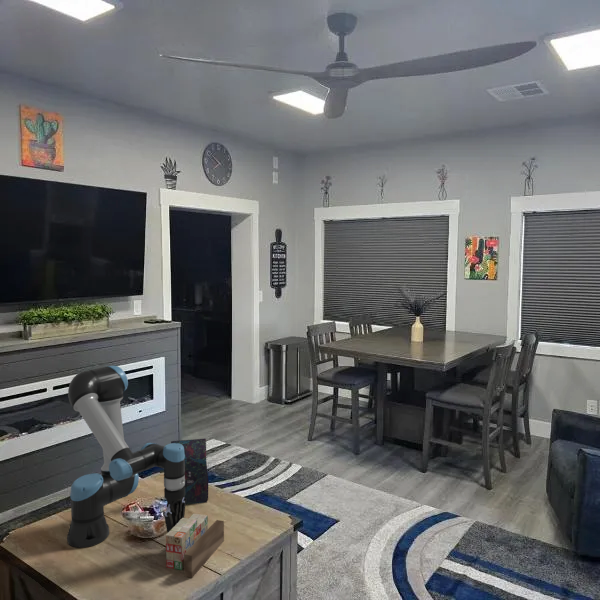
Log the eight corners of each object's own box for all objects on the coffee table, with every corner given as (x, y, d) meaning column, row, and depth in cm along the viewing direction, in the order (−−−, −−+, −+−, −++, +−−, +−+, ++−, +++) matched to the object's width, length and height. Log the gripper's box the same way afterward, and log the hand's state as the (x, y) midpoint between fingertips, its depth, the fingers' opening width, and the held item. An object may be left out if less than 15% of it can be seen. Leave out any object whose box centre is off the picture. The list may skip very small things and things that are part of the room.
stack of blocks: (193, 535, 200) (193, 505, 199) (208, 538, 199) (208, 507, 198) (166, 567, 180) (165, 534, 179) (182, 570, 178) (181, 537, 177)
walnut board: (184, 576, 175) (184, 554, 174) (217, 539, 198) (216, 519, 197) (192, 578, 174) (191, 555, 173) (224, 540, 197) (223, 521, 196)
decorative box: (171, 498, 231) (169, 438, 229) (207, 494, 235) (206, 435, 233) (170, 506, 223) (169, 444, 221) (208, 502, 227) (208, 441, 225)
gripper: (173, 495, 180) (175, 559, 182) (192, 480, 192) (193, 540, 194) (155, 492, 183) (157, 555, 185) (175, 477, 195) (176, 536, 197)
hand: (176, 547), depth 189 cm, fingers closed
